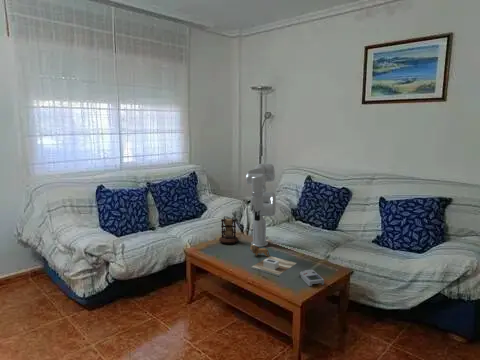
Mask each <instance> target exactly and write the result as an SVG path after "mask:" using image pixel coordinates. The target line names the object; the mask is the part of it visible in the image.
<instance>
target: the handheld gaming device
mask: <svg viewBox="0 0 480 360" xmlns="http://www.w3.org/2000/svg"><path fill="white" fill-rule="evenodd" d="M299 277H300V278H301V280H303V281H304V283H305V284H306V285H308V286H309V287H313V285H315V284H320V285H321V286H323V285H325V279H324V278H323V277H322V276H321V275H320V274H318V273H317V272H316V271H315V270H314V269H306V270H302V271H300V272H299Z"/></svg>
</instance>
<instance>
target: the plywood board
mask: <svg viewBox="0 0 480 360" xmlns="http://www.w3.org/2000/svg"><path fill="white" fill-rule="evenodd" d="M266 259H272V260H276V261H279V267H278V268H277V269H276V270H273V269H269V268H265V267H264V260H266ZM296 264H297V262H295V261H291V260H288V259H282V258H279V257H275V256H272V255H270V256H269V257H266V258H265V259H263V260H261V261H259V262H257V263H256V264H254V265H252V266H251V268H253V270H254V271H258V272H261V273H265V274H268V275H270V276H274V277H278V278H280V276H279V275H281V274H282V273H283V274H284V272H286V271H288V270H289V269H290V268H292V267H293V266H295V265H296ZM255 268H256V269H255ZM258 269H259V270H258ZM271 273H272V274H271Z"/></svg>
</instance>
